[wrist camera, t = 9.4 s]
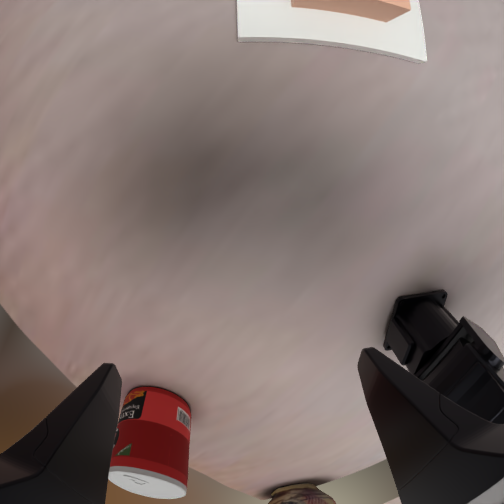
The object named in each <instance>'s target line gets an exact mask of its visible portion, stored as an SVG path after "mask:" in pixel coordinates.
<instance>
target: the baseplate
mask: <svg viewBox="0 0 504 504" xmlns="http://www.w3.org/2000/svg"><path fill="white" fill-rule="evenodd" d="M409 1H410V6H411V10H410V11H408V12H406V13H404V14H402V15H400V16H398V17H396V18H394V19H392V20H390V21H388V22H382V21H378V20H374V19H369V18H365V17H360V16H355V15H350V14H344V13H338V12H332V11H325V10H317V9H308V8H297V7H291V0H237V30H238V42H287V43H303V44H315V45H325V46H333V47H341V48H348V49H354V50H360V51H366V52H371V53H377V54H381V55H386V56H391V57H395V58H399V59H403V60H407V61H411V62H415V63H418V64H419V63H424V62H427V55H426V46H425V37H424V30H423V23H422V16H421V11H420V5H419V0H409Z"/></svg>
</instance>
